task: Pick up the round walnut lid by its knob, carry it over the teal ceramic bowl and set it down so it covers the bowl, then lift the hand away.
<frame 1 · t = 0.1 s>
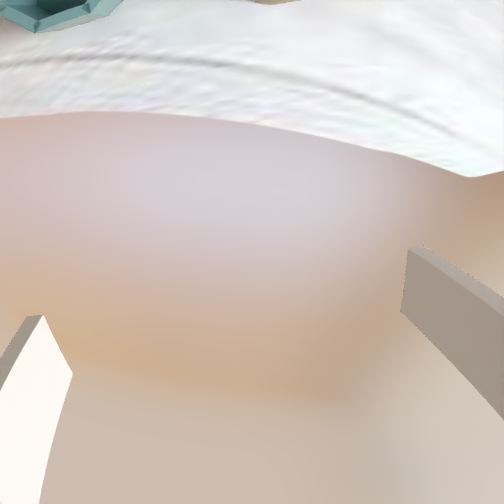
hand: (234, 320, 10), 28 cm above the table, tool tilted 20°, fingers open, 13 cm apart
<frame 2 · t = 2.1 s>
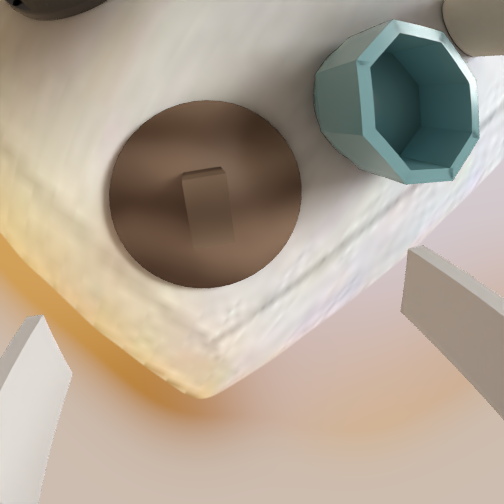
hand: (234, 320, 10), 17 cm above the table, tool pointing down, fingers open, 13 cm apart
travel mug: (462, 26, 23), on the table
bowl: (373, 103, 25), on the table
lid: (205, 196, 26), on the table
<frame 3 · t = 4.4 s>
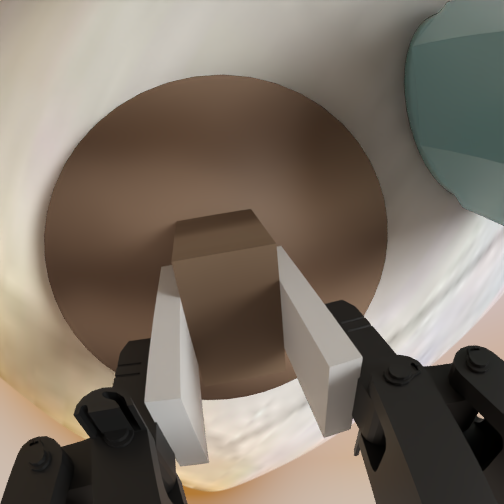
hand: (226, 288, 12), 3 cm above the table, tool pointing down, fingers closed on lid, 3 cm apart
bowl: (476, 105, 14), on the table
lid: (220, 260, 15), on the table, touching gripper
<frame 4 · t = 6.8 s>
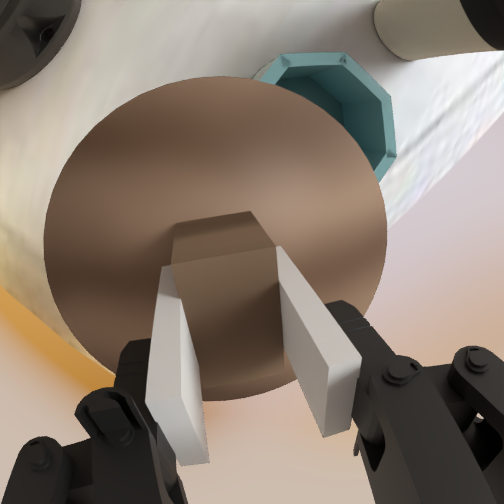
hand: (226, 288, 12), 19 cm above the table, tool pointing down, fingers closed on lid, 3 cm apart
travel mug: (400, 29, 26), on the table
bowl: (292, 129, 28), on the table
lid: (219, 261, 15), point 16 cm above the table, touching gripper
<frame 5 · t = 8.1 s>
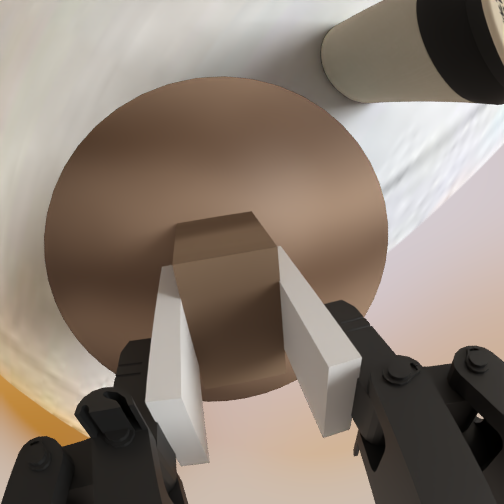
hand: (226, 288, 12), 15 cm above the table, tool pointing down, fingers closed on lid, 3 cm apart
travel mug: (358, 62, 24), on the table
lid: (220, 262, 15), point 12 cm above the table, touching gripper
when the fingers open (12 cm above the table, at t = 9.1 s): lid drops 1 cm, resting on bowl.
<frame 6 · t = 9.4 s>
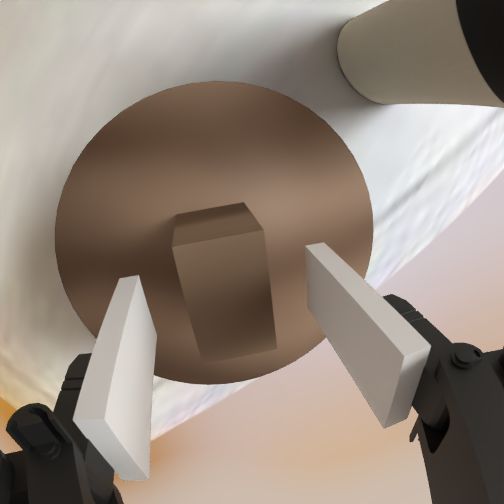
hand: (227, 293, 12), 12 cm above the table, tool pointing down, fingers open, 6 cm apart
travel mug: (377, 59, 21), on the table
lid: (217, 250, 16), point 8 cm above the table, touching bowl
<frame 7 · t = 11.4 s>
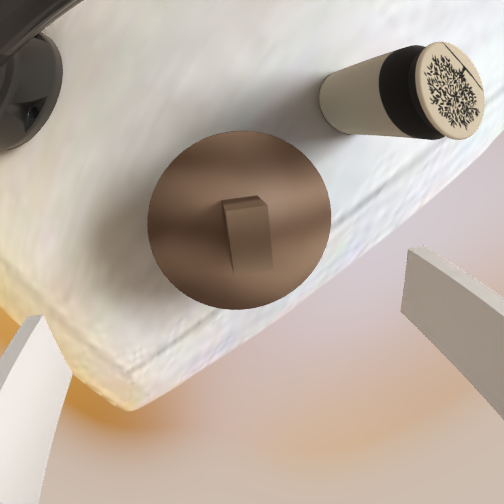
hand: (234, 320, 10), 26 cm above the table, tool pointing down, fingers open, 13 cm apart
travel mug: (348, 102, 34), on the table
lid: (240, 222, 28), point 8 cm above the table, touching bowl
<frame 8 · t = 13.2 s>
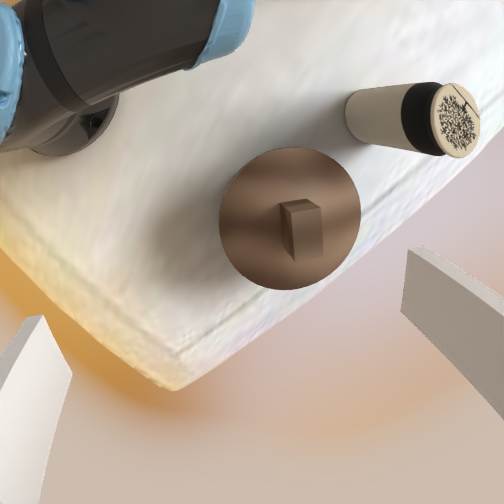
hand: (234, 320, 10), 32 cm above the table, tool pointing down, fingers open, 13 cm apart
travel mug: (367, 116, 40), on the table
lid: (291, 220, 35), point 8 cm above the table, touching bowl
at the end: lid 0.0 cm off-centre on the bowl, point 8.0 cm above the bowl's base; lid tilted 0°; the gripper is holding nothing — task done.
